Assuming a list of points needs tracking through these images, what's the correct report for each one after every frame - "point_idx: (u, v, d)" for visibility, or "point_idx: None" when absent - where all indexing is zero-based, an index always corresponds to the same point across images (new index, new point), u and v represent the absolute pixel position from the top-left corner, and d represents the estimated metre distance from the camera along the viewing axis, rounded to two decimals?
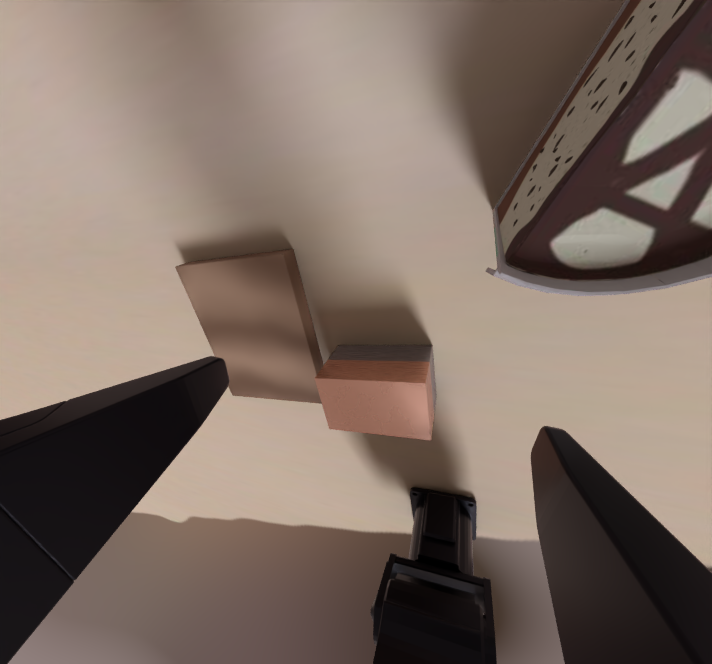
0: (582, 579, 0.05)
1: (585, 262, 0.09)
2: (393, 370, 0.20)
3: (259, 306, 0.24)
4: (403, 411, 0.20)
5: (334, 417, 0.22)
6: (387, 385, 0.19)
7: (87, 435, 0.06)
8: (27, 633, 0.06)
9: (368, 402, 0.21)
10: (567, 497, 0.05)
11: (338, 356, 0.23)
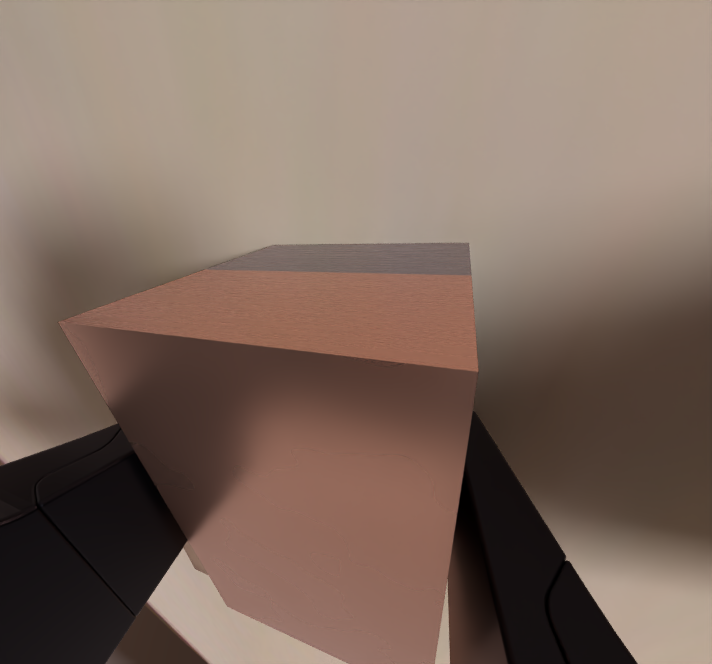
0: (458, 538, 0.05)
1: None
2: None
3: None
4: (251, 454, 0.04)
5: (365, 658, 0.06)
6: (155, 463, 0.05)
7: None
8: None
9: (256, 547, 0.05)
10: None
11: None
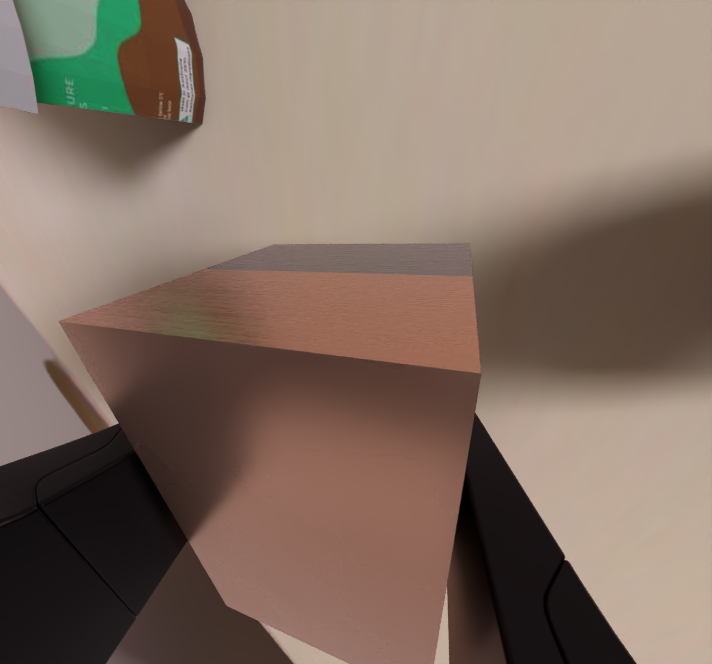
0: (457, 538, 0.05)
1: None
2: None
3: None
4: (251, 455, 0.04)
5: (364, 658, 0.06)
6: (155, 463, 0.05)
7: None
8: None
9: (256, 547, 0.05)
10: None
11: None
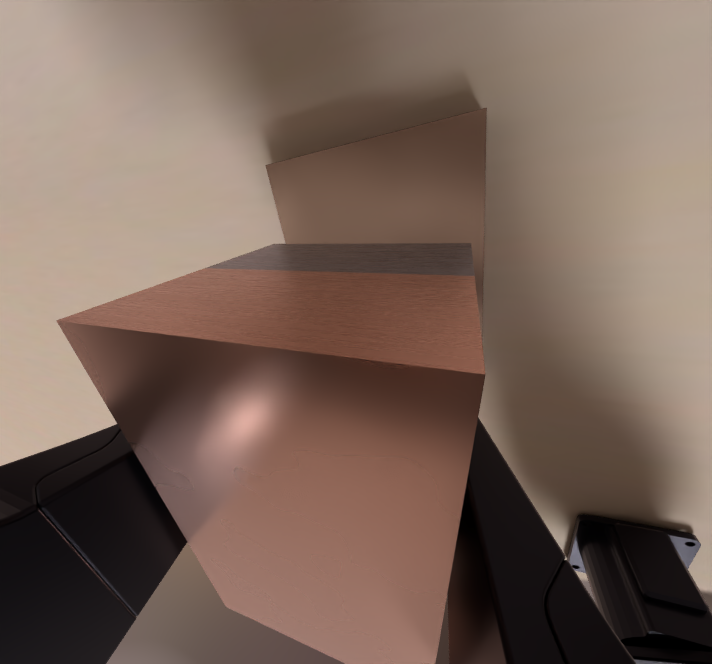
0: (457, 538, 0.05)
1: None
2: None
3: (406, 223, 0.15)
4: (251, 457, 0.04)
5: (364, 660, 0.06)
6: (154, 464, 0.05)
7: None
8: None
9: (256, 548, 0.05)
10: None
11: None
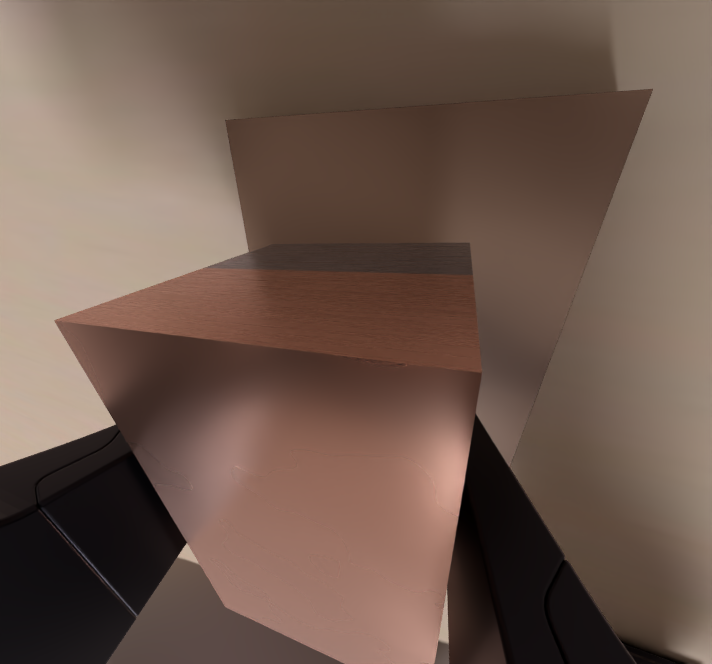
0: (457, 538, 0.05)
1: None
2: None
3: None
4: (249, 456, 0.04)
5: (363, 660, 0.06)
6: (153, 463, 0.05)
7: None
8: None
9: (255, 549, 0.05)
10: None
11: None
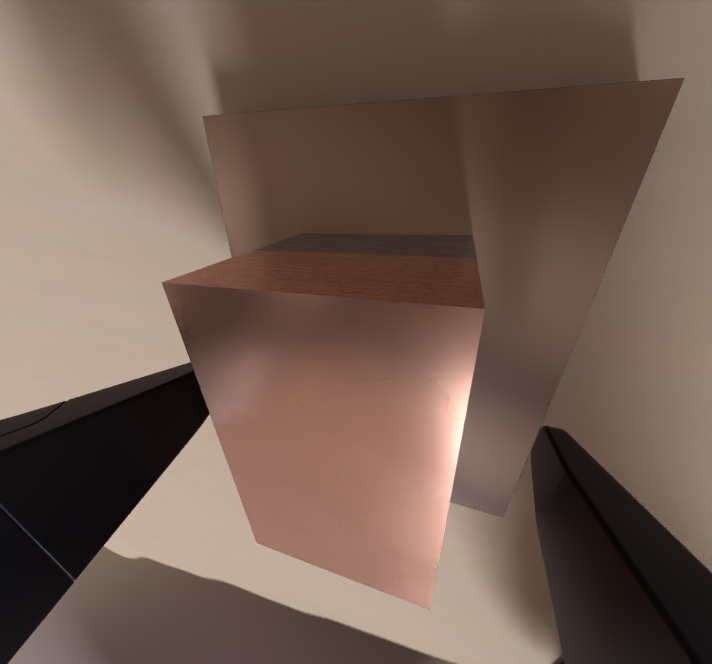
0: (582, 579, 0.05)
1: None
2: None
3: None
4: (307, 387, 0.05)
5: (378, 575, 0.07)
6: (218, 403, 0.06)
7: (87, 434, 0.06)
8: (28, 633, 0.06)
9: (296, 474, 0.06)
10: (567, 497, 0.05)
11: None
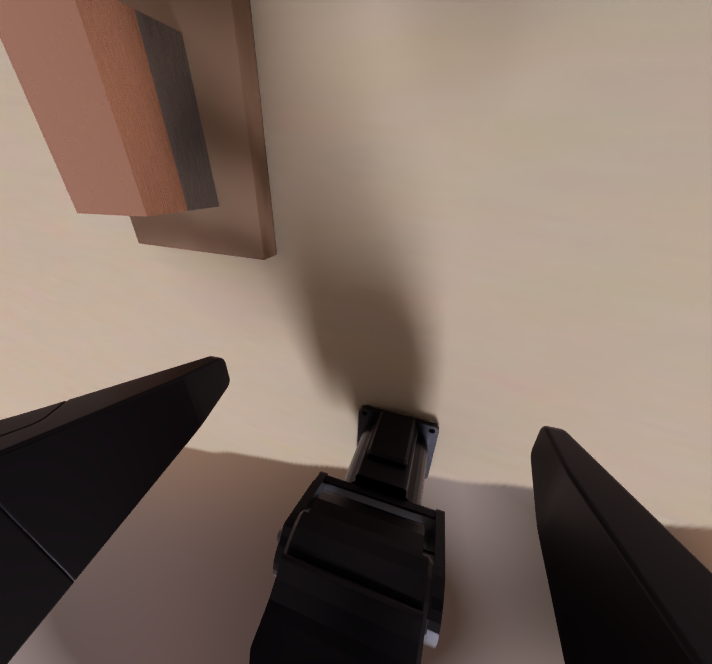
0: (582, 579, 0.05)
1: None
2: None
3: None
4: (45, 48, 0.12)
5: (121, 199, 0.14)
6: (24, 81, 0.13)
7: (87, 434, 0.06)
8: (27, 633, 0.06)
9: (66, 123, 0.13)
10: (567, 497, 0.05)
11: None
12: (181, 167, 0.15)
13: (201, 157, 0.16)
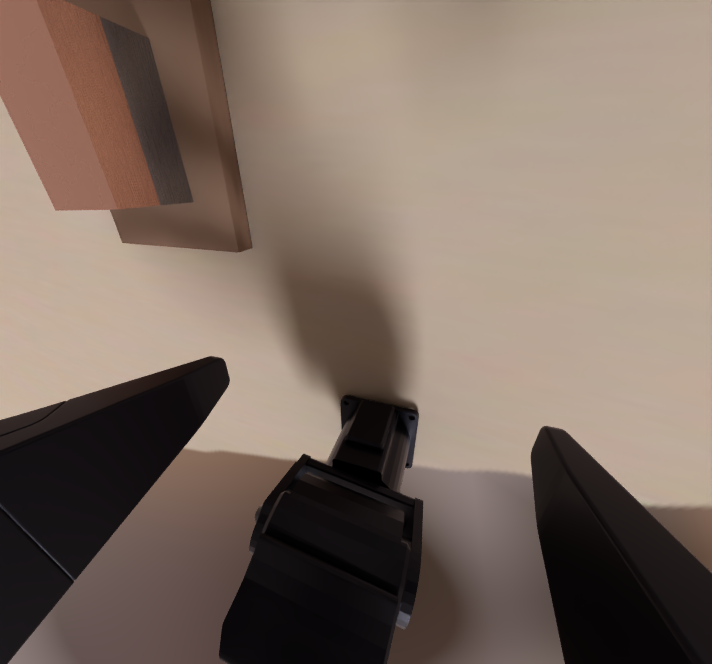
0: (582, 579, 0.05)
1: None
2: None
3: None
4: (17, 54, 0.13)
5: (94, 193, 0.15)
6: (0, 86, 0.14)
7: (87, 435, 0.06)
8: (28, 633, 0.06)
9: (40, 124, 0.14)
10: (567, 497, 0.05)
11: None
12: (152, 164, 0.16)
13: (173, 155, 0.17)
